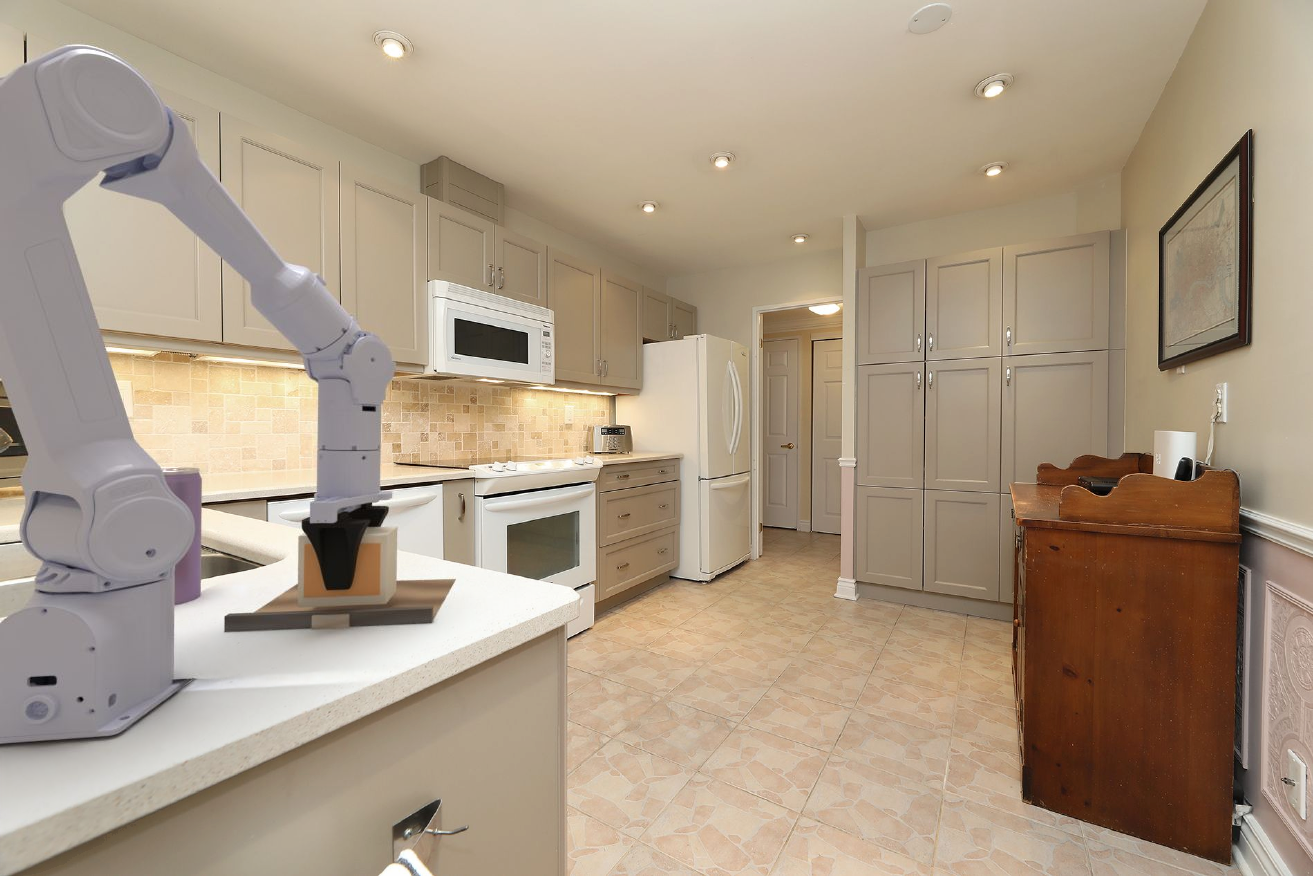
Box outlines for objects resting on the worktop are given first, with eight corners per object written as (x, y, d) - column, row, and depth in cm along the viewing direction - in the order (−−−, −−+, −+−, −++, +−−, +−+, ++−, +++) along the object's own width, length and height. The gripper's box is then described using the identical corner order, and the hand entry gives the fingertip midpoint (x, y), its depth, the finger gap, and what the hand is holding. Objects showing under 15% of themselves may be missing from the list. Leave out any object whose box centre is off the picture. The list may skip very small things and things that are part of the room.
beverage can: (214, 601, 63) (216, 468, 63) (163, 619, 57) (164, 472, 57) (166, 598, 64) (167, 466, 63) (110, 616, 58) (111, 470, 57)
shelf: (430, 634, 55) (431, 609, 55) (222, 643, 51) (222, 617, 51) (455, 586, 71) (456, 567, 71) (298, 591, 67) (298, 571, 67)
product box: (385, 604, 57) (386, 535, 56) (296, 608, 55) (297, 536, 55) (396, 590, 61) (397, 526, 61) (314, 593, 59) (315, 527, 59)
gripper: (370, 453, 51) (368, 601, 52) (408, 447, 66) (406, 563, 66) (284, 452, 50) (282, 604, 50) (341, 446, 64) (340, 564, 64)
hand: (347, 581), depth 58 cm, fingers closed on product box, 5 cm apart
